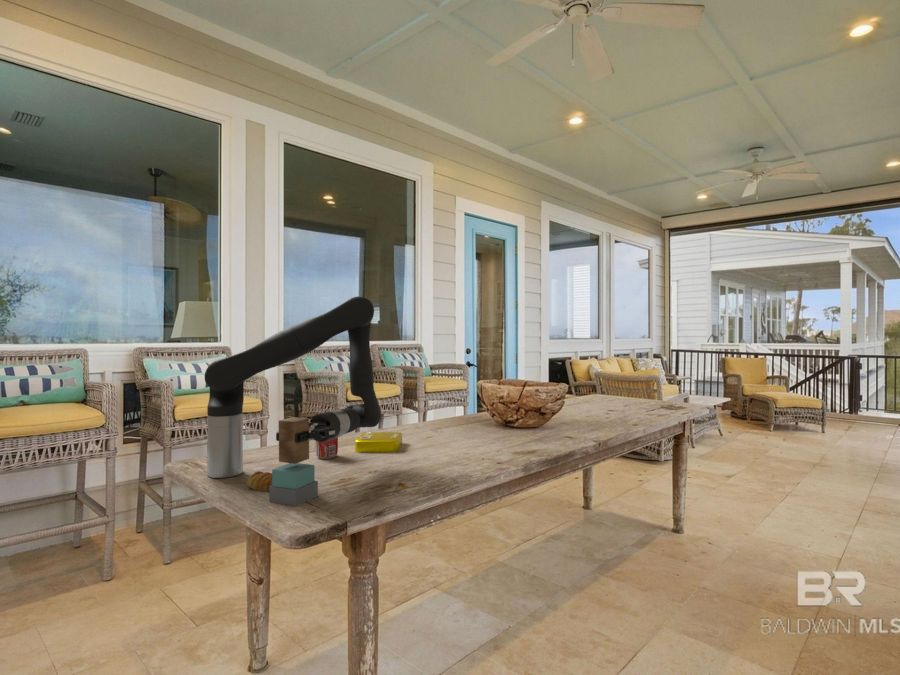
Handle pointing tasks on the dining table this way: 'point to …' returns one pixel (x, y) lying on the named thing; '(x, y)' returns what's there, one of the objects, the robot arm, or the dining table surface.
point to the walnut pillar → (292, 440)
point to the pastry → (260, 481)
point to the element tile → (378, 442)
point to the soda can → (327, 449)
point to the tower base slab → (293, 494)
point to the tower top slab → (293, 475)
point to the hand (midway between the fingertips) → (286, 437)
